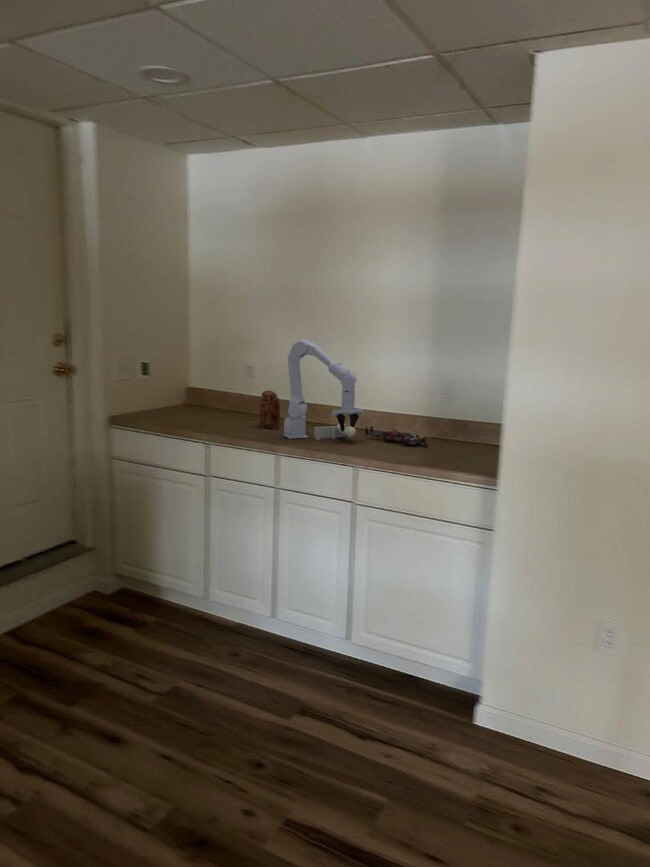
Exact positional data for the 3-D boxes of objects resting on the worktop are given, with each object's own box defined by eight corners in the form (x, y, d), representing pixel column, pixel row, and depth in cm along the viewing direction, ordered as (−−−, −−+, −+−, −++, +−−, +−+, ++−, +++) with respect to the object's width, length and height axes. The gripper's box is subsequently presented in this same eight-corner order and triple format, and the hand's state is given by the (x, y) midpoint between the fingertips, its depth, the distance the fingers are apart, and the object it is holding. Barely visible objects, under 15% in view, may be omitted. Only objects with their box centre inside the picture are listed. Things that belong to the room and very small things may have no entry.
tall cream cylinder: (355, 435, 288) (355, 426, 288) (347, 436, 287) (347, 427, 286) (344, 431, 299) (344, 422, 299) (336, 432, 298) (336, 423, 297)
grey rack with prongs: (317, 439, 293) (317, 429, 292) (314, 438, 297) (314, 427, 296) (350, 438, 300) (351, 427, 299) (347, 436, 303) (347, 425, 302)
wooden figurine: (255, 426, 319) (255, 390, 315) (263, 425, 324) (263, 388, 321) (275, 430, 313) (275, 392, 309) (282, 428, 318) (283, 391, 315)
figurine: (375, 424, 306) (434, 432, 290) (375, 436, 308) (433, 445, 291) (361, 428, 296) (421, 436, 280) (361, 440, 297) (420, 449, 281)
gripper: (336, 402, 283) (335, 433, 286) (366, 401, 288) (365, 431, 291) (330, 399, 289) (329, 430, 292) (360, 398, 295) (358, 428, 297)
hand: (347, 430), depth 292 cm, fingers closed on tall cream cylinder, 4 cm apart
